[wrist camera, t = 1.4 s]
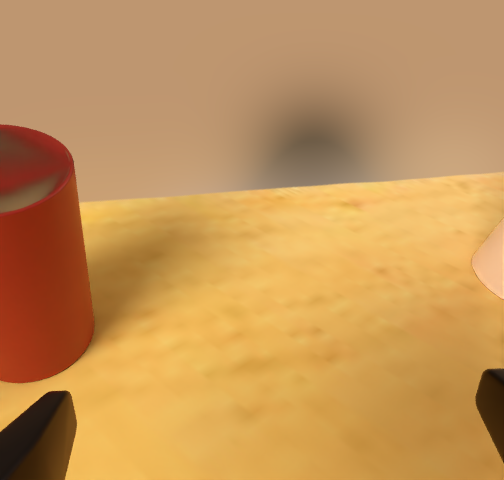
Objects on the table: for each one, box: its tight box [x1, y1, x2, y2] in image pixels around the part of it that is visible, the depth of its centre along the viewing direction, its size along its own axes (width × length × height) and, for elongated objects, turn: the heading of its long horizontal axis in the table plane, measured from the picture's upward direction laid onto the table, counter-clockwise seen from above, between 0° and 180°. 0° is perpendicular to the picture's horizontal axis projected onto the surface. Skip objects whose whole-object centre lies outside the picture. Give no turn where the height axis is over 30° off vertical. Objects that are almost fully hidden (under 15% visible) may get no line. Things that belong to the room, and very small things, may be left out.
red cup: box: [0, 125, 94, 383], centre depth 21 cm, size 7×7×12 cm
